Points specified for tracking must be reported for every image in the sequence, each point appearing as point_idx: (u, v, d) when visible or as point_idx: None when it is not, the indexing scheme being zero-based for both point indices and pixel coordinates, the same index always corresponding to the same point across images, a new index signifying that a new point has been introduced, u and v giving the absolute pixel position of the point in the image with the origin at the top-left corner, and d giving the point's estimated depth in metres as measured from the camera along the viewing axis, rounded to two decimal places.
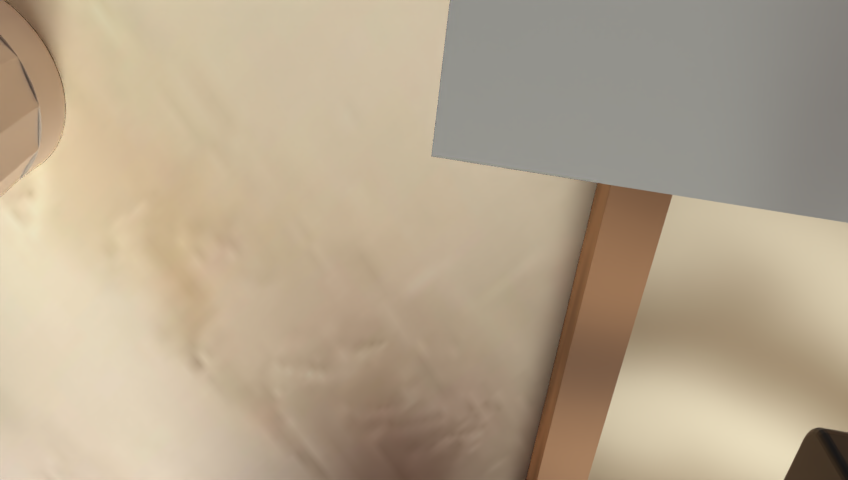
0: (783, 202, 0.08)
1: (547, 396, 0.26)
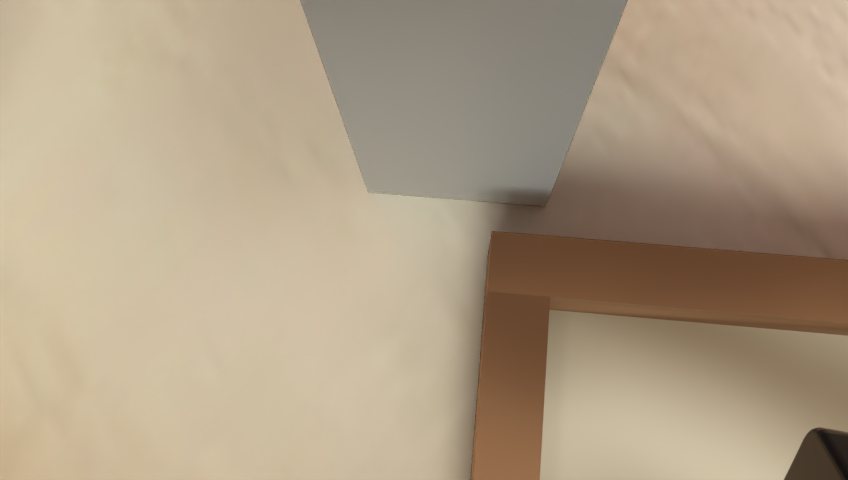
0: None
1: None
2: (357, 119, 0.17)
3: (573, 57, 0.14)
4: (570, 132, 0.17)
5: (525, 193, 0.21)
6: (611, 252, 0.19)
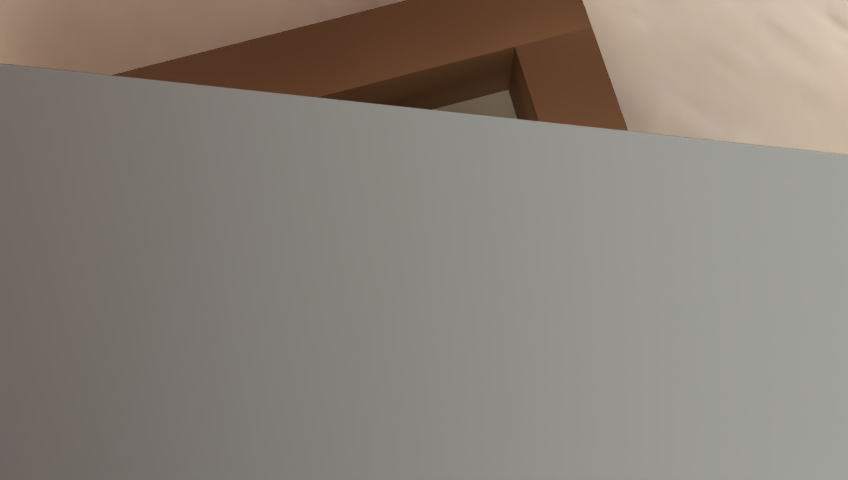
0: None
1: None
2: None
3: None
4: None
5: None
6: None
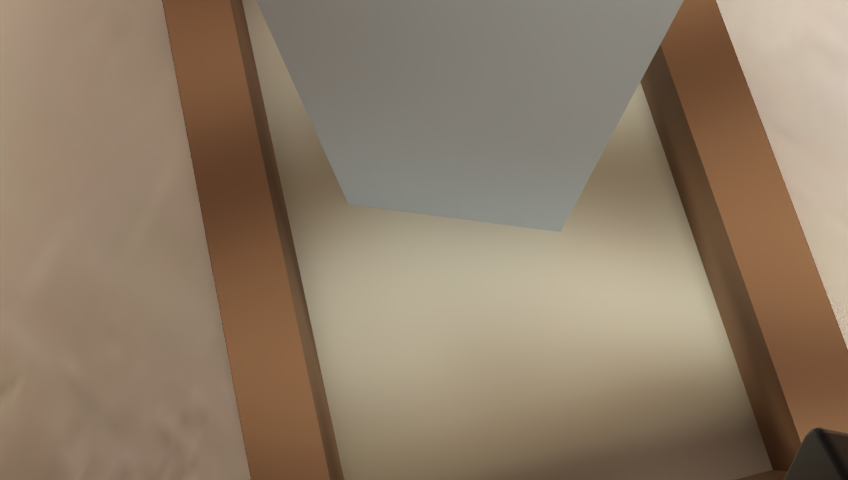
0: None
1: None
2: (327, 116, 0.13)
3: (614, 47, 0.10)
4: (598, 147, 0.13)
5: (536, 215, 0.17)
6: None
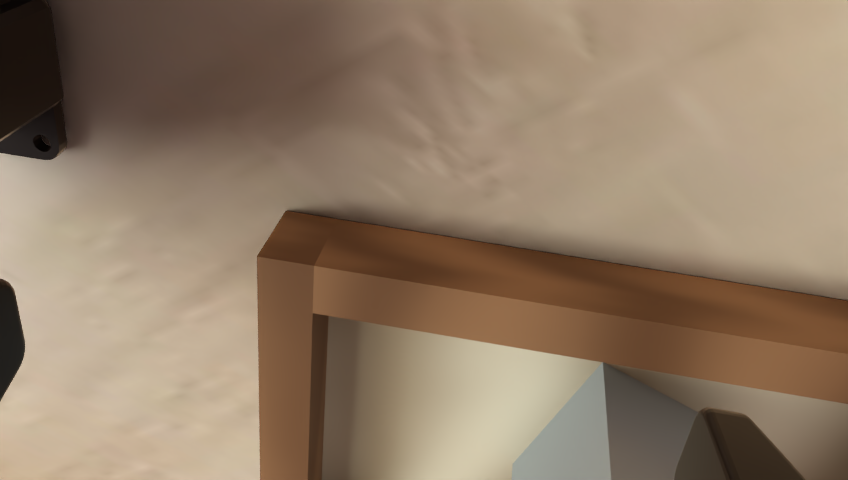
0: None
1: (522, 254, 0.22)
2: None
3: None
4: None
5: (522, 478, 0.24)
6: None
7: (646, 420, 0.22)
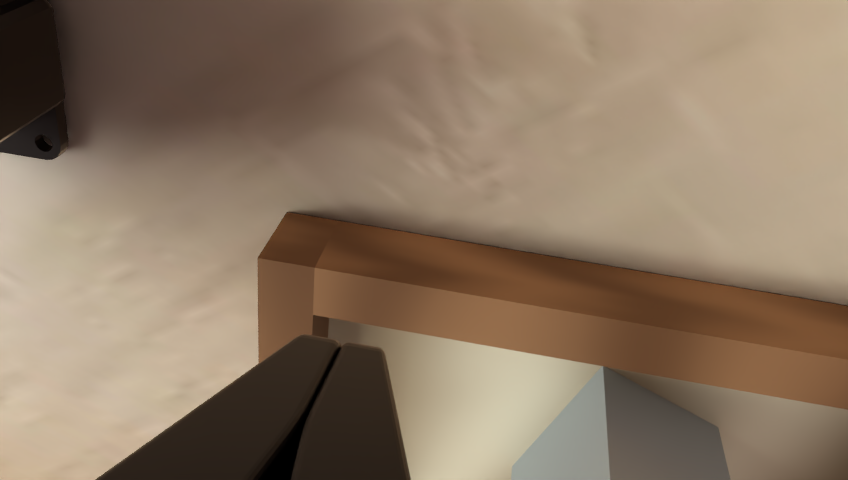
0: None
1: (523, 257, 0.22)
2: None
3: None
4: None
5: None
6: None
7: (646, 424, 0.22)
